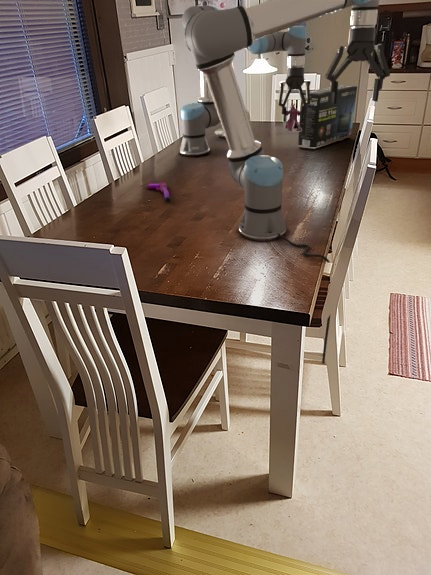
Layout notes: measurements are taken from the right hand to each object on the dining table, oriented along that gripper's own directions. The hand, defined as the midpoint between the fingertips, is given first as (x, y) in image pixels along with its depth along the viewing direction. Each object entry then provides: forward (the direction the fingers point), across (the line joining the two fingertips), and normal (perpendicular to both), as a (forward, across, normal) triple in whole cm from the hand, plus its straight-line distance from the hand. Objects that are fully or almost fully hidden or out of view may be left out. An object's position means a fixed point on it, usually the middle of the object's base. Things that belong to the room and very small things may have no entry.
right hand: (354, 102), depth 149 cm
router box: (+36, -19, -89) cm, 98 cm away
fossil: (+36, +29, -117) cm, 126 cm away
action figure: (+22, +5, -64) cm, 68 cm away
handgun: (+36, +67, -25) cm, 80 cm away
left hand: (+18, +5, -63) cm, 66 cm away
